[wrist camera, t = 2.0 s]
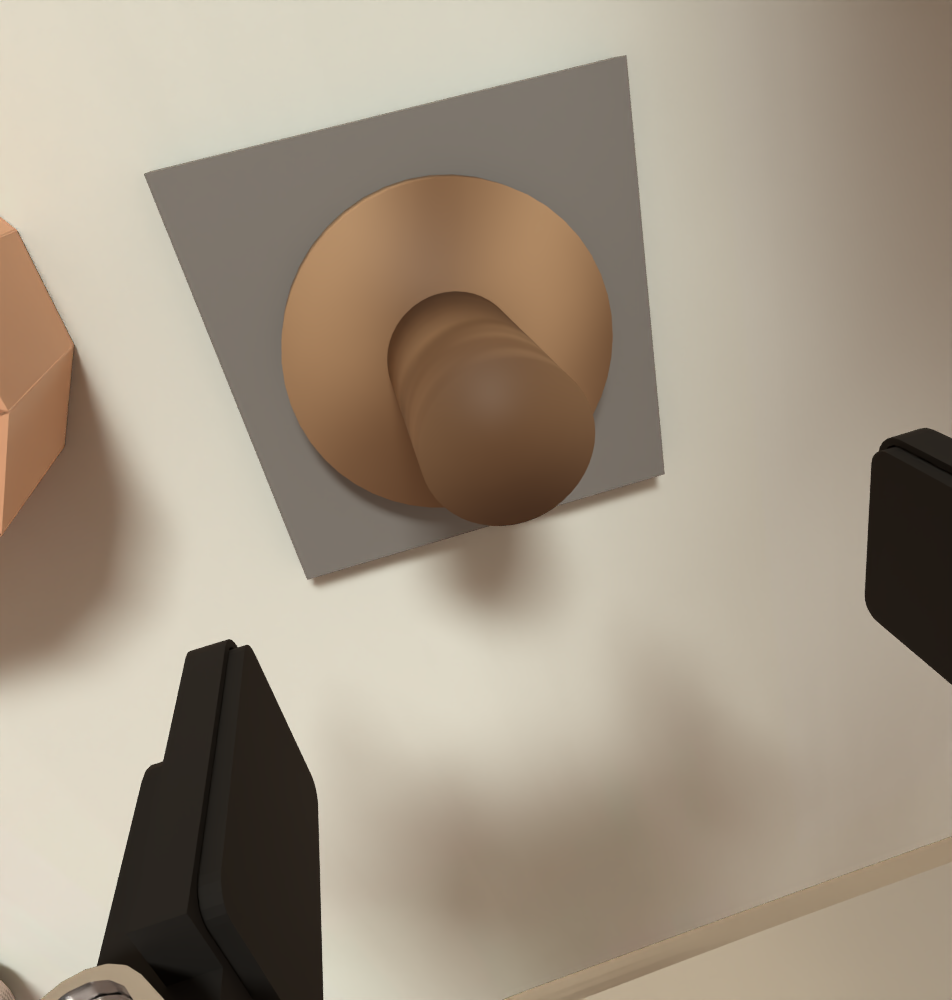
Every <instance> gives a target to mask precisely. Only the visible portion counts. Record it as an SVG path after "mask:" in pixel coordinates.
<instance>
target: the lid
mask: <svg viewBox="0 0 952 1000" xmlns="http://www.w3.org/2000/svg"><path fill="white" fill-rule="evenodd" d="M612 342H613V330H612V314H611V309H610V304H609V299H608V294H607V291H606V288H605V285H604V282H603V279H602V276H601V273H600V271H599V269H598V267H597V265H596V263H595V261H594V259H593V257H592V255H591V254H590V252H589V251H588V249H587V248H586V246H585V245H584V243H583V242H582V240H581V239H580V237H579V236H578V235H577V234H576V233H575V232H574V231H573V230H572V228H571V227H570V226H569V225H568V224H567V223H566V222H565V221H564V220H563V219H562V218H561V217H559V216H558V215H557V214H556V213H554V212H553V211H552V210H551V209H550V208H548V207H547V206H546V205H544V204H542V203H541V202H539V201H537V200H536V199H534V198H532V197H531V196H529V195H527V194H525V193H523V192H520V191H518V190H515V189H513V188H511V187H508V186H506V185H503V184H500V183H497V182H493V181H490V180H486V179H482V178H478V177H472V176H463V175H454V174H449V175H428V176H423V177H417V178H412V179H406V180H403V181H400V182H397V183H395V184H392V185H389V186H386V187H383V188H381V189H379V190H377V191H375V192H373V193H371V194H369V195H367V196H365V197H363V198H362V199H361V200H359V201H358V202H356V203H355V204H353V205H352V206H350V207H349V208H348V209H346V210H345V211H343V212H342V213H341V214H340V215H339V216H338V217H337V218H336V219H335V220H334V221H333V222H332V223H331V224H329V225H328V226H327V227H326V229H325V230H324V231H323V232H322V234H321V235H320V236H319V237H318V238H317V240H316V241H315V242H314V243H313V245H312V246H311V248H310V249H309V251H308V253H307V254H306V256H305V258H304V259H303V261H302V263H301V264H300V266H299V269H298V271H297V273H296V276H295V278H294V280H293V283H292V285H291V288H290V292H289V295H288V299H287V303H286V306H285V312H284V320H283V328H282V339H281V351H282V369H283V375H284V382H285V387H286V390H287V394H288V397H289V400H290V404H291V407H292V409H293V411H294V413H295V416H296V418H297V420H298V422H299V424H300V426H301V428H302V429H303V431H304V433H305V434H306V436H307V437H308V439H309V441H310V442H311V444H312V445H313V446H314V447H315V448H316V450H317V451H318V452H319V453H320V454H321V456H322V457H323V458H324V459H325V460H326V461H327V462H328V463H329V464H330V465H331V466H332V467H334V468H335V469H336V470H337V471H338V472H339V473H340V474H342V475H343V476H345V477H346V478H347V479H349V480H350V481H352V482H353V483H354V484H356V485H358V486H360V487H362V488H364V489H365V490H367V491H369V492H371V493H373V494H376V495H378V496H381V497H383V498H386V499H389V500H391V501H395V502H400V503H404V504H408V505H413V506H421V507H430V508H446V509H447V510H449V511H450V512H451V513H453V514H455V515H457V516H458V517H460V518H462V519H465V520H467V521H470V522H473V523H477V524H481V525H489V526H506V525H514V524H518V523H522V522H526V521H529V520H532V519H534V518H537V517H539V516H541V515H543V514H545V513H546V512H548V511H550V510H551V509H553V508H554V507H556V506H557V505H558V504H559V503H561V502H562V501H563V500H564V499H565V498H566V497H567V496H568V495H569V494H570V493H571V492H572V491H573V490H574V489H575V487H576V486H577V485H578V483H579V482H580V480H581V479H582V477H583V475H584V474H585V472H586V470H587V467H588V465H589V463H590V460H591V457H592V454H593V449H594V444H595V422H594V417H593V413H594V411H595V409H596V407H597V405H598V403H599V400H600V398H601V396H602V393H603V390H604V386H605V383H606V380H607V377H608V372H609V367H610V362H611V356H612Z"/></svg>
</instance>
